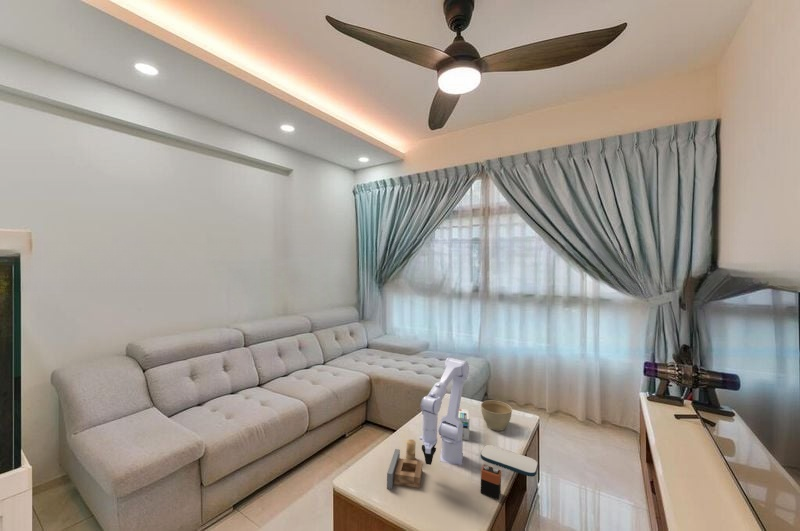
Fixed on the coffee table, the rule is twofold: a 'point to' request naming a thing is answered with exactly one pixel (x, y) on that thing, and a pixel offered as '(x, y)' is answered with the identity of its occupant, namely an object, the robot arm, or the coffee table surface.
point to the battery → (491, 481)
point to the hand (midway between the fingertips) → (429, 460)
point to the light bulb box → (464, 422)
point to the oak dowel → (410, 450)
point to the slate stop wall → (392, 469)
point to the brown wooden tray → (408, 473)
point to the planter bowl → (496, 414)
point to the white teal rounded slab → (510, 460)
